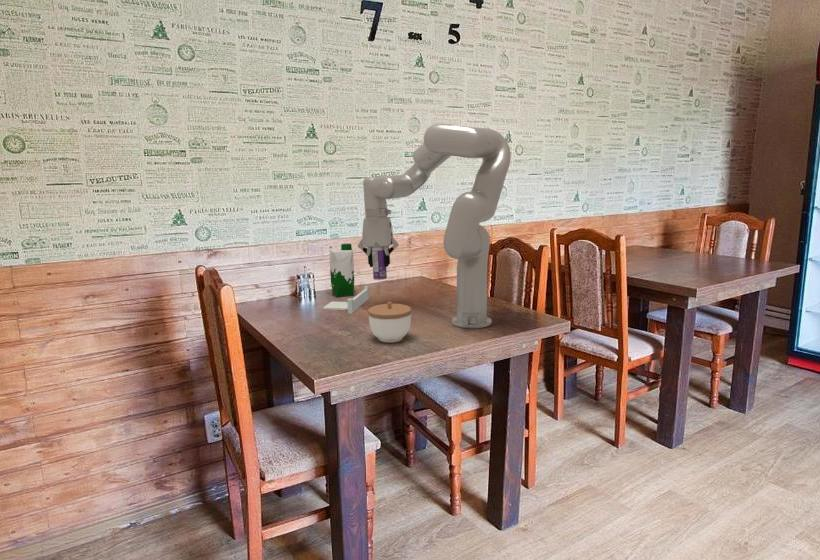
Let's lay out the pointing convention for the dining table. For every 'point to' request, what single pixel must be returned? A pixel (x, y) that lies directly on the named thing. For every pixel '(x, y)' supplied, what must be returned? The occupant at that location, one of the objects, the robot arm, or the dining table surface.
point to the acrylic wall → (358, 300)
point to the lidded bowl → (389, 321)
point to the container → (378, 262)
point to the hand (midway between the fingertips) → (379, 265)
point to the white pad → (336, 306)
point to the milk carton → (342, 271)
